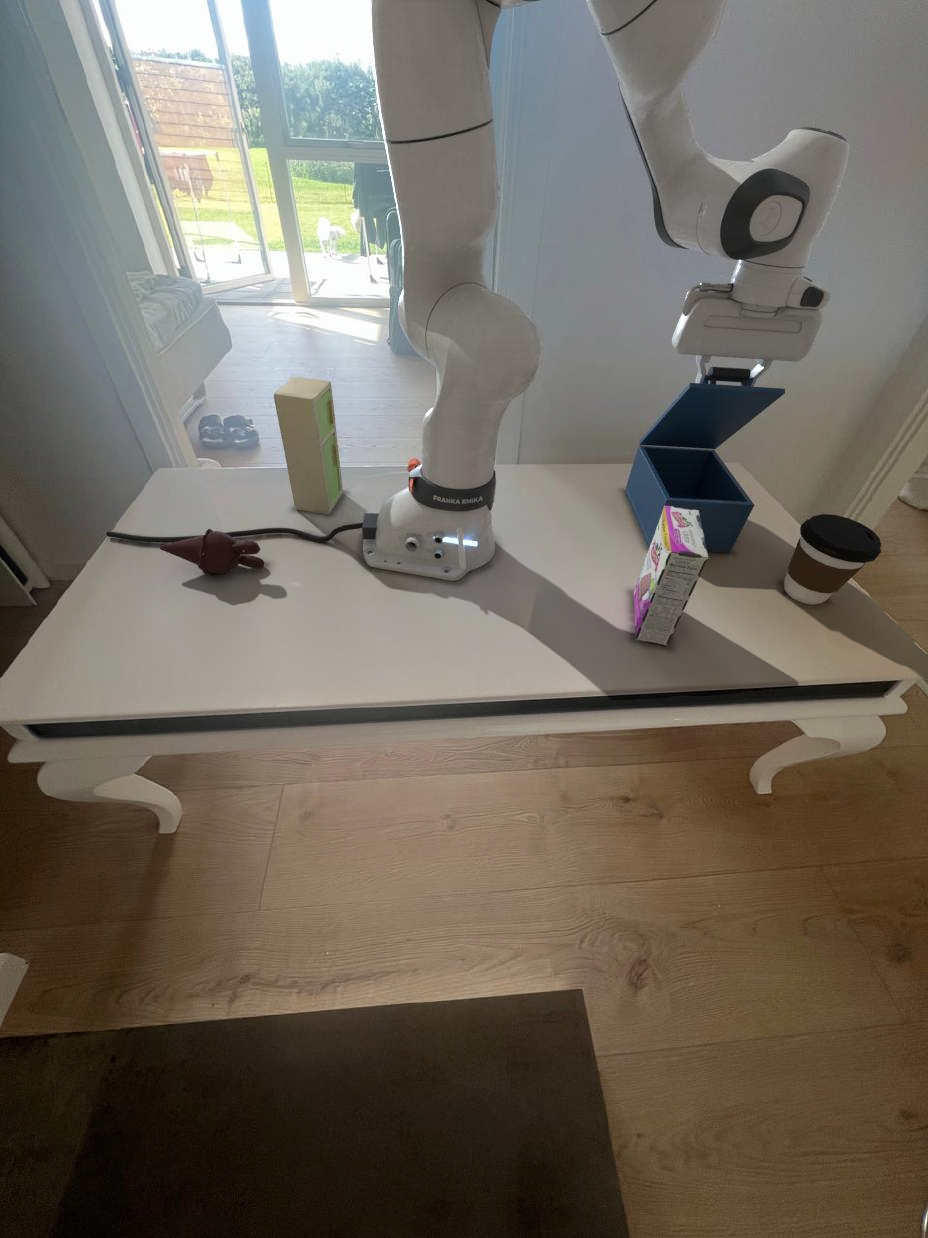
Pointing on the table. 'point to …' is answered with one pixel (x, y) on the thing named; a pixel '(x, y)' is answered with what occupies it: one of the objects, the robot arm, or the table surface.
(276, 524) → the table surface
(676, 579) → the candy bar box
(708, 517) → the cool box
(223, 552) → the icecream
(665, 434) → the lid
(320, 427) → the toy refrigerator
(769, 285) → the robot arm
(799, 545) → the coffee cup
